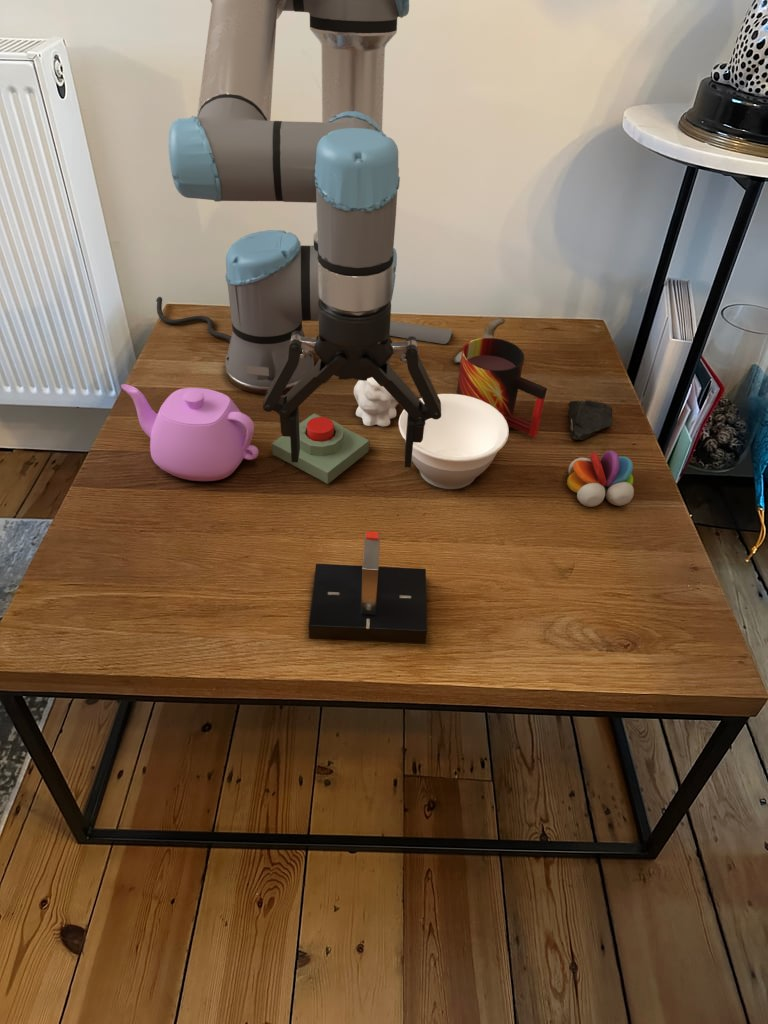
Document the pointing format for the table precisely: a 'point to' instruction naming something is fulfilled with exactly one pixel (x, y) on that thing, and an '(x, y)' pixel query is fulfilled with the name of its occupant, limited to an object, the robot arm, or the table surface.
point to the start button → (320, 429)
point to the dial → (370, 573)
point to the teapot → (196, 433)
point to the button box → (323, 451)
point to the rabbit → (374, 403)
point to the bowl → (458, 441)
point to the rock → (588, 418)
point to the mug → (499, 380)
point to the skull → (486, 333)
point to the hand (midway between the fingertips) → (351, 457)
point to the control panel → (395, 606)
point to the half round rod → (420, 332)
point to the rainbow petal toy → (602, 479)
